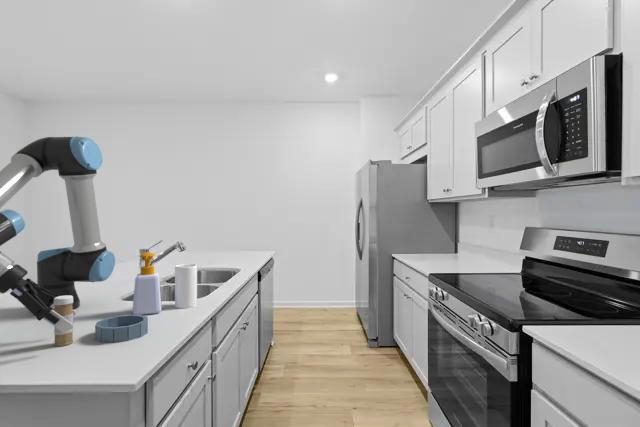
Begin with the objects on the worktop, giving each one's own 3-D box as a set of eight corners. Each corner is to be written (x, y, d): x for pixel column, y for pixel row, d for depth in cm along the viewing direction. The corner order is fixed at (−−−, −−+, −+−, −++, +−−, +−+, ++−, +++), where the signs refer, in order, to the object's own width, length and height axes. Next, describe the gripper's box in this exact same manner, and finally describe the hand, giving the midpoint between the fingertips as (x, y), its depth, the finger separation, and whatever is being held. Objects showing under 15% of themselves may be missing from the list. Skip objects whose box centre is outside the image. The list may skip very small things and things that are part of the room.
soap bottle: (130, 319, 130) (130, 255, 130) (134, 309, 143) (134, 251, 143) (160, 317, 134) (160, 254, 134) (161, 307, 147) (161, 250, 146)
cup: (184, 309, 144) (184, 267, 144) (170, 306, 148) (170, 265, 148) (201, 305, 151) (201, 265, 151) (187, 302, 155) (187, 263, 155)
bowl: (87, 335, 114) (87, 322, 114) (133, 324, 125) (133, 312, 125) (109, 345, 106) (109, 331, 105) (156, 332, 117) (156, 319, 117)
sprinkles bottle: (66, 340, 110) (66, 294, 110) (76, 342, 108) (76, 295, 108) (50, 345, 106) (50, 297, 106) (60, 347, 104) (60, 299, 104)
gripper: (2, 277, 110) (64, 321, 117) (-25, 293, 88) (53, 346, 95) (24, 257, 112) (84, 302, 120) (4, 269, 90) (78, 323, 98)
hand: (70, 322), depth 107 cm, fingers open, 13 cm apart
